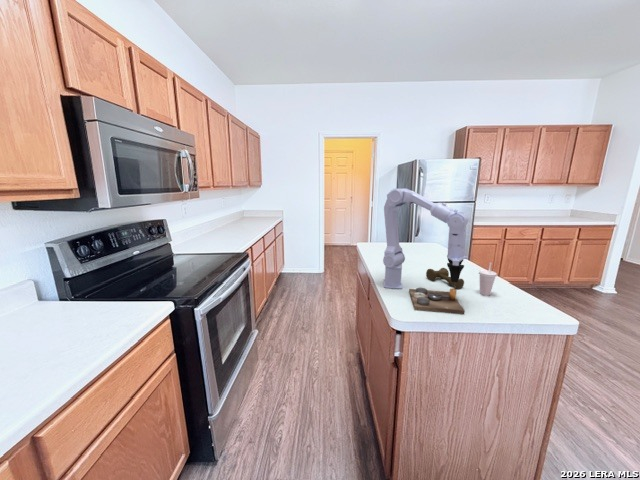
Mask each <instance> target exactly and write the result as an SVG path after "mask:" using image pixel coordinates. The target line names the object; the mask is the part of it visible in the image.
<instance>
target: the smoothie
mask: <svg viewBox="0 0 640 480" xmlns="http://www.w3.org/2000/svg"><path fill="white" fill-rule="evenodd" d="M488 265H489V266H488V270H487V269H480V270H479V271H478V274H479V294H480V295H482V296H485V297H486V296H490V295H491V293H492V289H493V286H494V283H495V279H496V277H497V276H498V274H497V272H496V271H493V270H491V267H492V262H489V264H488Z"/></svg>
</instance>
